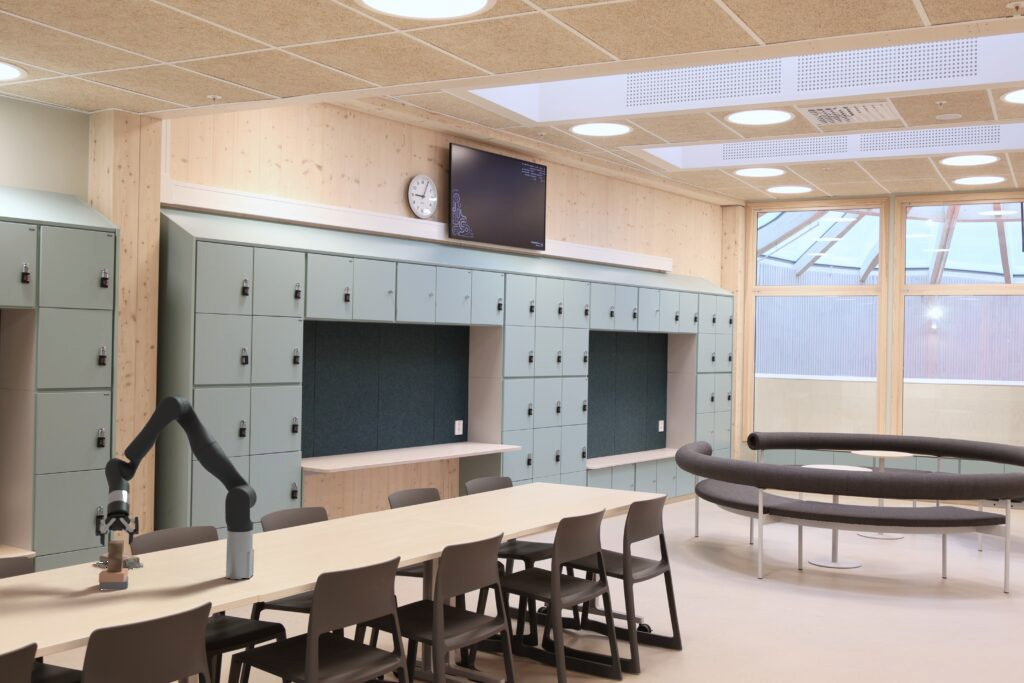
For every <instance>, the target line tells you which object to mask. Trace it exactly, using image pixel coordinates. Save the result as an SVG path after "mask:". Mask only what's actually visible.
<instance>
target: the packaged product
mask: <svg viewBox="0 0 1024 683" xmlns="http://www.w3.org/2000/svg"><path fill="white" fill-rule="evenodd" d="M98 559H99V561H96V562H95V563H96V564H93V566H96V565H99V566H98V567H101V566H103V567H102V568H105V567H108V562H107V561H108V551H107V552H105V553H103V554H101V555H100V556H99V558H98ZM140 561H141V560H140V557H138V556H135V555H131V554H128V553H127V554H126V553H123V568H128V569H131V570H134V569H133V568H136V569H141V568H144V565H145V564H144V563H141V562H140ZM99 562H103V563H99ZM140 567H141V568H140Z"/></svg>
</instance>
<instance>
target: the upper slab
mask: <svg viewBox="0 0 1024 683" xmlns="http://www.w3.org/2000/svg"><path fill="white" fill-rule="evenodd" d="M127 577H128V578H129V570H128V568H122V571H121V572H107V568H103V569H102V570H101V571H100V572H99V574H98V584H99V583H104V582H124V581H125V580H126V578H127Z"/></svg>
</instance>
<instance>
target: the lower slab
mask: <svg viewBox="0 0 1024 683" xmlns="http://www.w3.org/2000/svg"><path fill="white" fill-rule="evenodd" d="M98 585H99V587H98V588H99V590H101V589H118V590H127V589H126V588H128V587H129V576H128V577H127V578H126V580H125V581H124V582H104V583H99V582H98ZM101 591H102V590H101Z"/></svg>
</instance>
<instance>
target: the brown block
mask: <svg viewBox="0 0 1024 683" xmlns="http://www.w3.org/2000/svg"><path fill="white" fill-rule="evenodd" d="M124 544H125V540H110V541H109V542H108V549H107V550H108V551H107V552H108V567H107V568H106V569H107V572H121V571H122V568H123V554H124V549H125V548H124V546H125V545H124Z"/></svg>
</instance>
